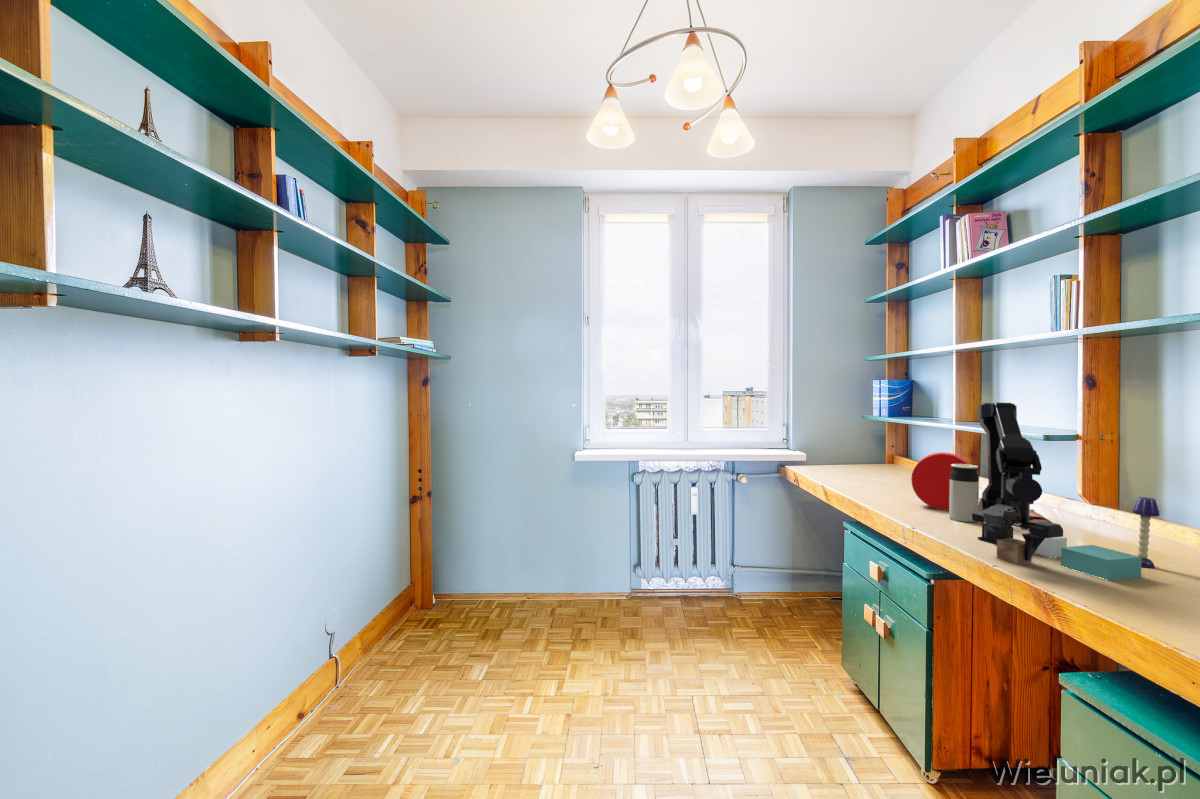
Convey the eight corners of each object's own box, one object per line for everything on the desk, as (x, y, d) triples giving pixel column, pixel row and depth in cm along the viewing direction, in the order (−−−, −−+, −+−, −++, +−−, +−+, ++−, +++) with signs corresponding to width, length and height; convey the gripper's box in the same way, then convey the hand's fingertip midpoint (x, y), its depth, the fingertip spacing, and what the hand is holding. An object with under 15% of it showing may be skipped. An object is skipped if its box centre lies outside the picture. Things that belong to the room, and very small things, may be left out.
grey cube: (1031, 553, 143) (1032, 534, 143) (1045, 551, 144) (1045, 532, 144) (1052, 558, 138) (1053, 539, 138) (1066, 557, 140) (1066, 537, 140)
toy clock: (976, 510, 193) (977, 454, 192) (977, 513, 188) (978, 456, 188) (912, 503, 204) (912, 450, 204) (910, 506, 199) (911, 452, 199)
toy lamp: (1145, 562, 135) (1147, 496, 135) (1163, 568, 130) (1165, 499, 130) (1125, 562, 135) (1126, 495, 135) (1142, 568, 131) (1144, 499, 130)
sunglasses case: (1004, 517, 183) (1017, 501, 181) (1026, 529, 180) (1039, 513, 179) (1021, 529, 166) (1036, 512, 165) (1046, 543, 164) (1060, 526, 162)
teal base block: (1061, 567, 132) (1061, 547, 132) (1092, 564, 134) (1092, 544, 134) (1108, 582, 122) (1108, 560, 122) (1141, 578, 124) (1141, 557, 124)
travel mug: (946, 519, 179) (947, 465, 179) (952, 515, 185) (953, 463, 184) (974, 523, 173) (975, 467, 173) (980, 519, 179) (981, 465, 178)
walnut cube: (996, 559, 138) (997, 539, 138) (1011, 557, 139) (1011, 537, 139) (1017, 565, 133) (1017, 544, 133) (1031, 563, 135) (1032, 543, 134)
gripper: (956, 489, 142) (955, 548, 143) (1031, 504, 125) (1030, 571, 125) (987, 487, 146) (986, 545, 146) (1065, 501, 128) (1064, 567, 128)
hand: (1014, 556), depth 136 cm, fingers open, 6 cm apart
